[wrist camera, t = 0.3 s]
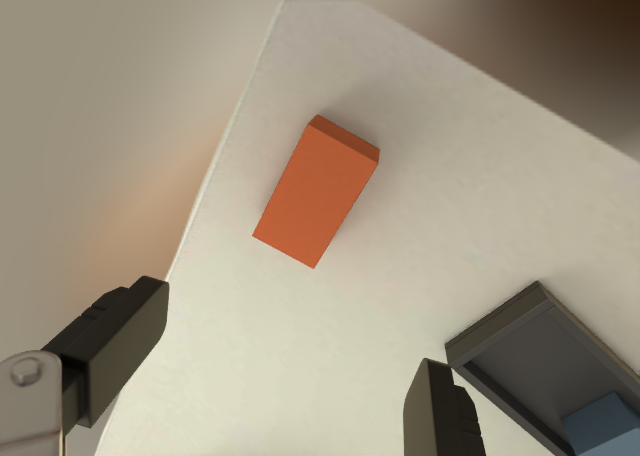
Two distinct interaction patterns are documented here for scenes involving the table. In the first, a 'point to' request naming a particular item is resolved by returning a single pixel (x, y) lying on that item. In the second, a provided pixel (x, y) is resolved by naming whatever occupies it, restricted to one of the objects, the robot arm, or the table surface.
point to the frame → (540, 365)
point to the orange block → (316, 191)
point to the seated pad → (604, 428)
